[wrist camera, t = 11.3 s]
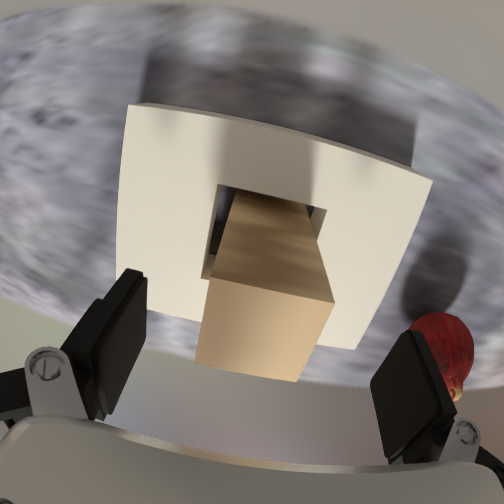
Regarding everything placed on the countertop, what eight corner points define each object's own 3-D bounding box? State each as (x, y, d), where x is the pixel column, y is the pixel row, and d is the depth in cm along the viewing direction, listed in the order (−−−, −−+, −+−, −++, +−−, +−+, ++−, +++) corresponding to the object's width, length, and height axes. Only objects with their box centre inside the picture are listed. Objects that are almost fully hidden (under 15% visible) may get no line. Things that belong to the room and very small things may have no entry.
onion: (379, 313, 22) (411, 397, 15) (444, 278, 21) (494, 351, 14) (398, 356, 24) (424, 431, 17) (454, 326, 23) (493, 394, 16)
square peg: (303, 201, 19) (334, 303, 10) (285, 259, 21) (296, 381, 12) (238, 185, 18) (209, 277, 10) (224, 245, 20) (194, 363, 11)
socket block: (411, 167, 17) (433, 180, 15) (346, 321, 23) (354, 349, 20) (149, 102, 16) (128, 104, 14) (132, 276, 22) (116, 300, 19)
